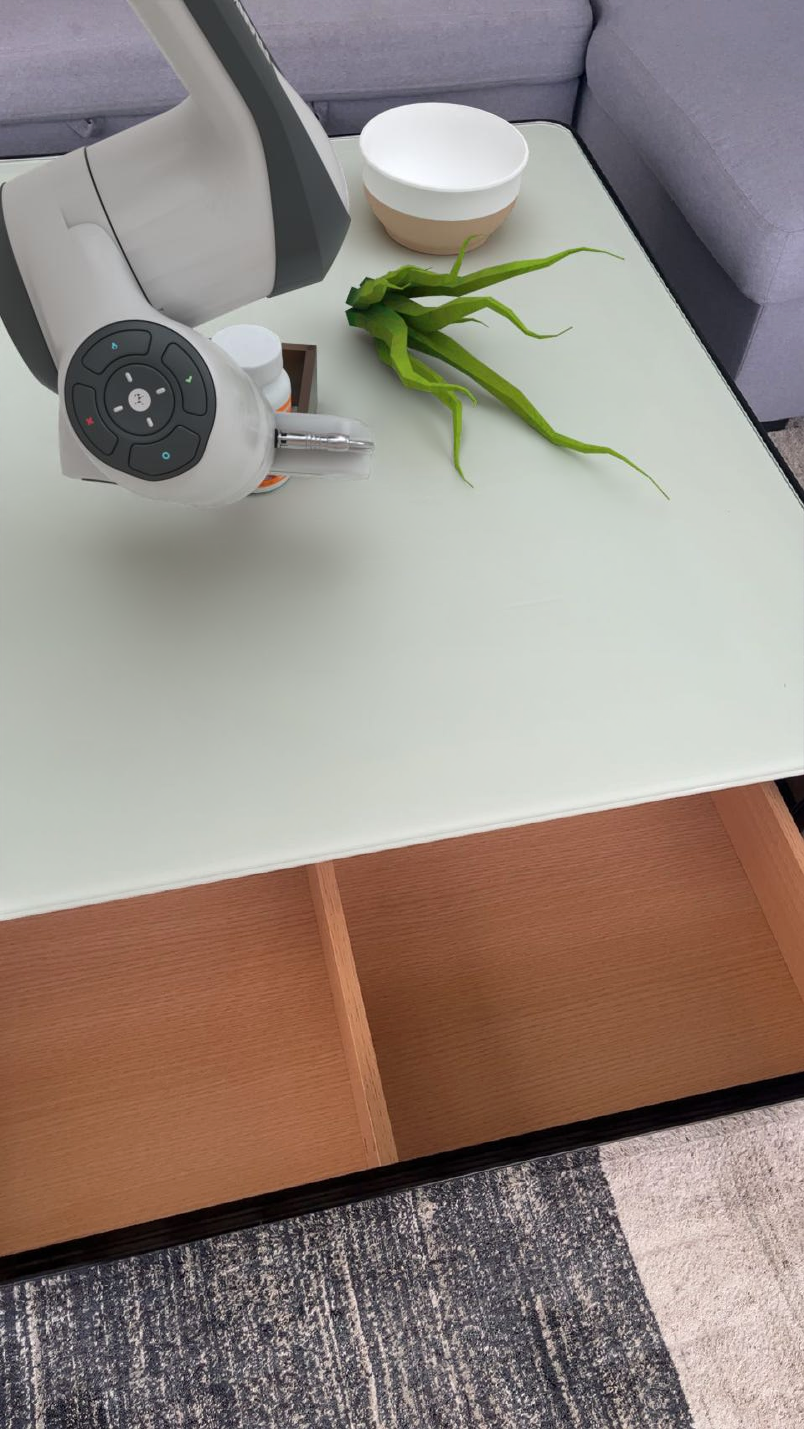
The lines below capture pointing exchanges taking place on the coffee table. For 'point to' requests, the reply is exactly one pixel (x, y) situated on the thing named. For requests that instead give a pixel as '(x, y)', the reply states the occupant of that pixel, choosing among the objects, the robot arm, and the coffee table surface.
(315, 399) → the u-shaped stand
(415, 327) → the decorative plant
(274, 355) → the pill bottle
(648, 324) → the coffee table surface
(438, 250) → the bowl
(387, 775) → the coffee table surface
